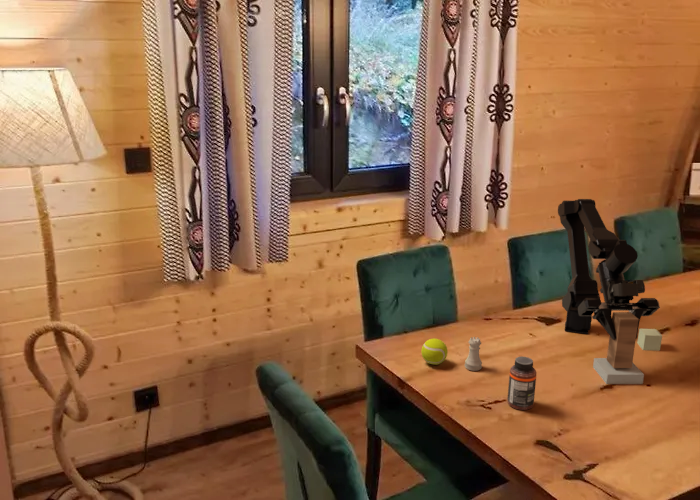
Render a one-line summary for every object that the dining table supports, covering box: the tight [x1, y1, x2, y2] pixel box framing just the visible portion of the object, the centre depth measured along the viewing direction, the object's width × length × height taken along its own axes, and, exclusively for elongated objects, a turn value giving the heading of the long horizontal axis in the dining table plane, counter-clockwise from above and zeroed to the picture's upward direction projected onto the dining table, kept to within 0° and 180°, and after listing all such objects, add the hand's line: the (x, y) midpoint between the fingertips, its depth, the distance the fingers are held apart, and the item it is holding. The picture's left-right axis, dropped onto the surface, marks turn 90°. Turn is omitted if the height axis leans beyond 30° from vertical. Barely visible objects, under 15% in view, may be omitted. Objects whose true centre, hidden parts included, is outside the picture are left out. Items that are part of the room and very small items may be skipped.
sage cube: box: [636, 328, 663, 352], centre depth 187 cm, size 4×4×4 cm
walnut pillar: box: [606, 311, 639, 368], centre depth 169 cm, size 4×4×13 cm
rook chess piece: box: [464, 336, 483, 372], centre depth 173 cm, size 4×4×8 cm
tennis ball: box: [421, 338, 448, 366], centre depth 176 cm, size 7×7×7 cm
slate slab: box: [592, 357, 645, 385], centre depth 171 cm, size 9×9×3 cm
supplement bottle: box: [507, 355, 537, 411], centre depth 155 cm, size 6×6×11 cm
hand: (624, 339), depth 167 cm, fingers open, 5 cm apart
